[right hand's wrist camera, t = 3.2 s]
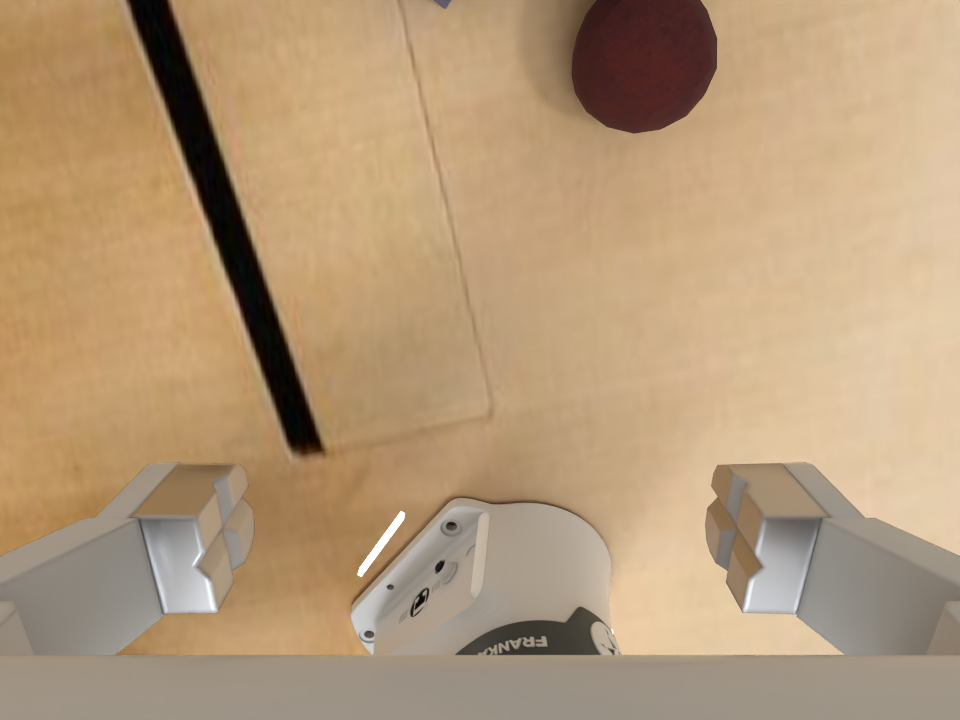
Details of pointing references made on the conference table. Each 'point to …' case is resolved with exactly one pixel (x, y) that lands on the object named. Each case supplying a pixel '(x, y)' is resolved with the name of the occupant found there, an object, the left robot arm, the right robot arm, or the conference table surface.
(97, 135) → the conference table surface
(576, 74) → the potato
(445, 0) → the bar
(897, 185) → the conference table surface
